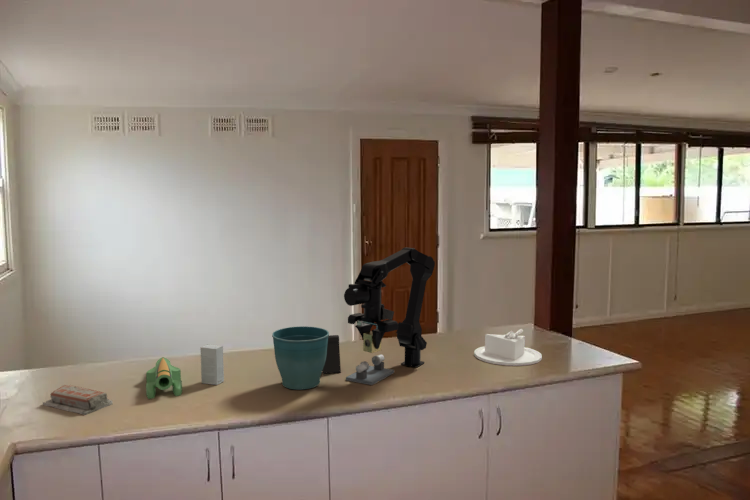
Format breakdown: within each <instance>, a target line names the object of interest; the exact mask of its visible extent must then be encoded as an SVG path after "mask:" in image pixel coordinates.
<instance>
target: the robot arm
mask: <svg viewBox="0 0 750 500" xmlns="http://www.w3.org/2000/svg"><path fill="white" fill-rule="evenodd" d="M406 263H407V264H408V265H409V266H410V267H409V272H410V275H411V278H412V279H411V280H412V281H411V285H410V291H409V298H408V301H407V308H406V312H405V317H404V320H402V322H401V321H399V322H398V321H396V320H393V319H394V313H395V311H393V310H390V309H387V308H385V304H384V303H382V288H385V287H387V285H386V283H384V281H383V280H384V279H386V278H387V277H388V274H389V273H390V272H392V271H393V270H395V269H397V268H399V267H401V266H403V265H404V264H406ZM435 264H436V262H435V260H434V258H433V257H432V256H429V255H427V254H425V253H422V252H421V251H419V250H417V249H416V248H415V247H403V248H402V249H401V250H399V251H396V252H395V253H393V254H390V255H389V256H386V257H385V258H383V259H380V260H376V261H371V262H367V263H364V264H363V265H362V266H361V270H360V271H359V273H358V274H357V278H356V279H355V281H354V283H350V284H348V287H347V288H346V289H345V291H344V294H343V299H344V302H345V303H346V304H347V306H351V307H352V306H357V305H360V307H361V309H362V308H363V313H361V312H357V313H352V314H349V315H348V317H347V324H350V325H355V324H356V325H355V326H354V327H355V328H356V329H357V331H358V333H359V334H360V336H361V338H362V339H363V333H366V332H370V331H372V334H373V340H374V345H375V349H378V348H379V346H380V343H381V344H382V340H383V338H384V335H385V333H389V332H393V331H396V332H395V333H396V340H397V341H398V345H399V347H402V348H404V360H403V361H402V362H400V365H401V366H405V367H412V368H418V367H419V366H422V365H423V364H425V361H424V360H423V361H422V359H421V357H422V356H421V352H422V351H424V350H425V349H426V348H427V344H428V343H427V341H426V339H424V337H423V336H422V333H423V329H422V325H421V322H420V319H421V318H420V317H421V313H422V308H423V301H424V297H425V290H426V285H427V281H428V280H429V279H430V277H431V276H433V272H434V269H435V266H436V265H435ZM373 326H375V327H376V328H374V329H372V328H373Z"/></svg>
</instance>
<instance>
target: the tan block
mask: <svg viewBox="0 0 750 500" xmlns="http://www.w3.org/2000/svg"><path fill="white" fill-rule="evenodd" d="M362 341H363V345H362V346H363V347H362V349H363V351H364V352H367V353H370V354H373V353H378V352H381V351H382V342H381V343H380V346H379V348H378V349H375V345H374V340H373V334H372V330H370V332H366V333H363V338H362Z"/></svg>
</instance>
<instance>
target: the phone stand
mask: <svg viewBox="0 0 750 500" xmlns="http://www.w3.org/2000/svg"><path fill="white" fill-rule="evenodd" d="M340 350H341V349H340V336H339V335H338V334H335V335H330V334H329V336H328V344H327V355H326V361H325V364H324V367H323V370H322V373H323V374H324V375H325V374H337V373H338V374H340V373H341V371H342V370H341V369H342V368H341V354H340Z"/></svg>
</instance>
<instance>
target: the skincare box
mask: <svg viewBox="0 0 750 500" xmlns="http://www.w3.org/2000/svg"><path fill="white" fill-rule="evenodd" d="M199 350H200V370H201V371H200V373H201V376H200V377H201V384H204V385H205V384H206V385H214V386H218V385H219V384H221V383H224V382H225V374H224V371H225V370H224V369H225V368H224V367H225V366H224V346H223V345H217V344H206V345H203V346H201V347H200V349H199Z"/></svg>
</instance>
